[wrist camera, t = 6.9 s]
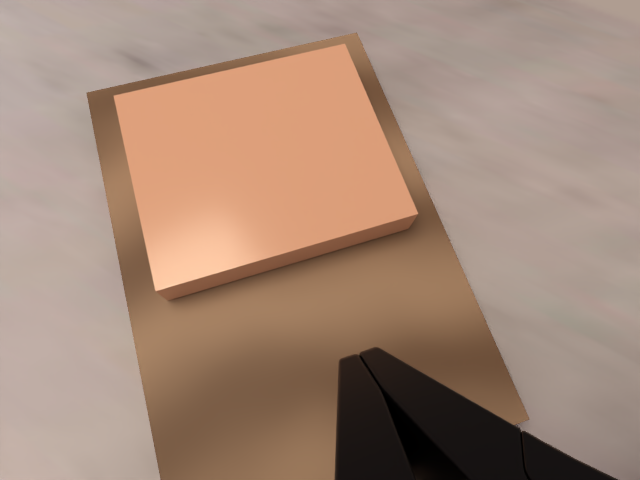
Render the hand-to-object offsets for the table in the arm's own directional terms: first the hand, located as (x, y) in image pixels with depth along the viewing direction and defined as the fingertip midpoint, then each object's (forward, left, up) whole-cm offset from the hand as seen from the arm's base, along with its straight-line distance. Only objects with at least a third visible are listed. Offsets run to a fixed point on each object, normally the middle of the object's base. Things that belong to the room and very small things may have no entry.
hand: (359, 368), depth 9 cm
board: (+6, +2, -9) cm, 11 cm away
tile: (+5, +1, -7) cm, 8 cm away
